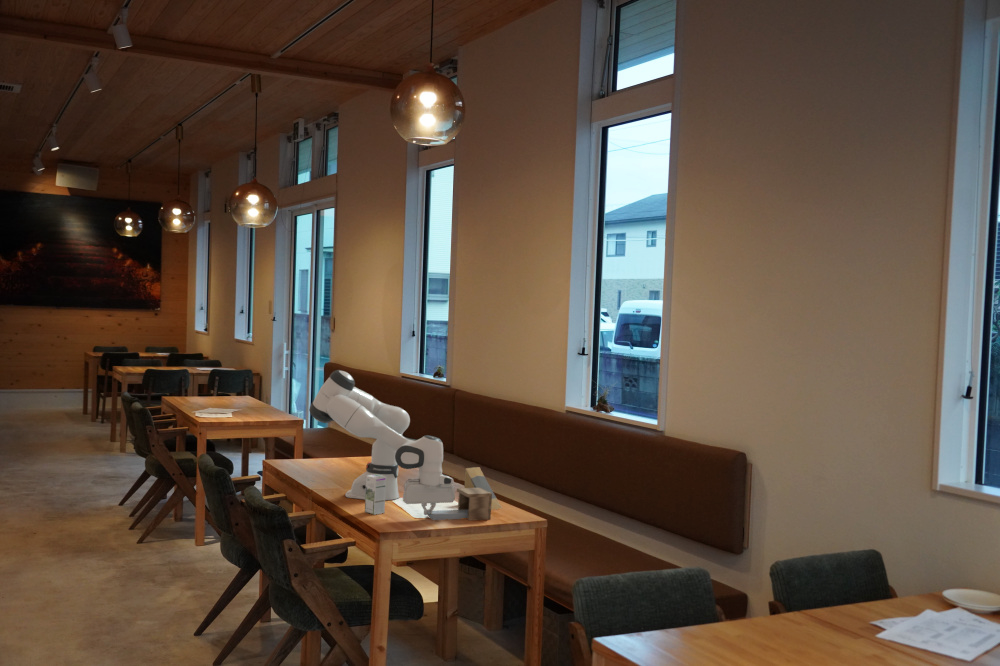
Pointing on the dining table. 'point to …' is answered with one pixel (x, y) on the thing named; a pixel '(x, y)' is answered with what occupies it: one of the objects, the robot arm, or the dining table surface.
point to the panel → (449, 514)
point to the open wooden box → (475, 503)
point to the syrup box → (375, 494)
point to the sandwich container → (479, 484)
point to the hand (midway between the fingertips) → (427, 514)
